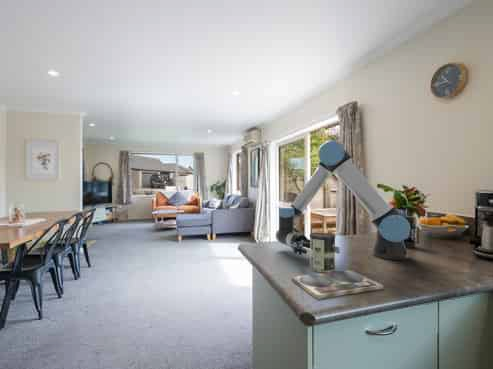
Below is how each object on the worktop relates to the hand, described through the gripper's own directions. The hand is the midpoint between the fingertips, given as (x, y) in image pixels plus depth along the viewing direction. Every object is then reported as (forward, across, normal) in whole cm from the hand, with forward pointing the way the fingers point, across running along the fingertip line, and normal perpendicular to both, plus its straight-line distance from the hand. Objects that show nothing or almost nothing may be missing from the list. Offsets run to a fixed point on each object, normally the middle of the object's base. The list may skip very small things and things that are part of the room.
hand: (326, 252), depth 106 cm
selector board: (+13, +7, -7) cm, 16 cm away
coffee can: (-3, 0, -8) cm, 8 cm away
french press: (-16, -70, -8) cm, 72 cm away
